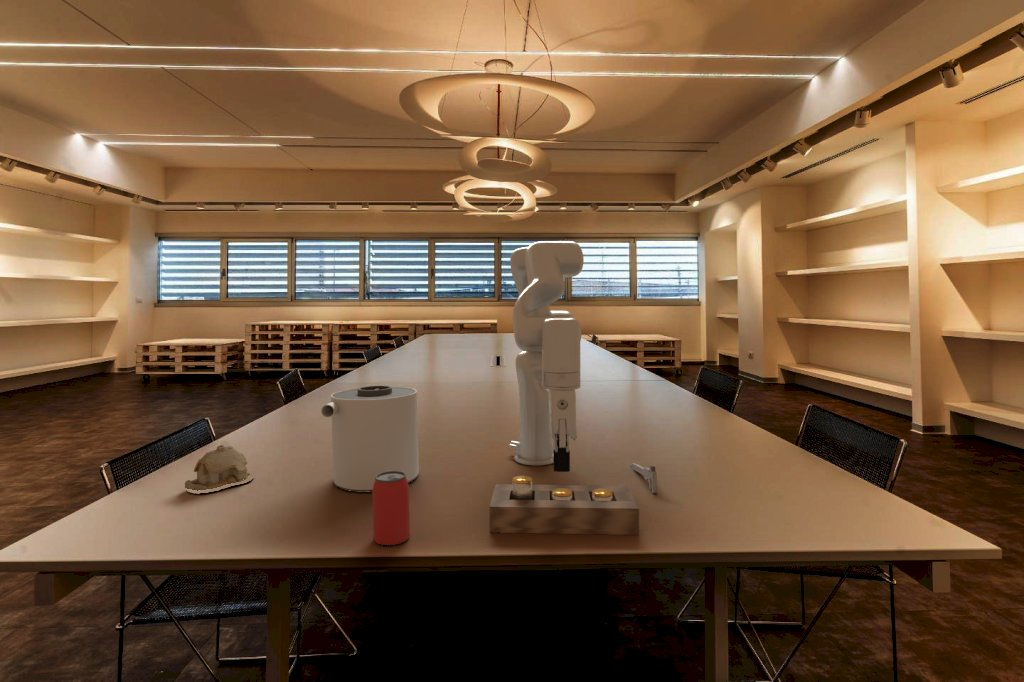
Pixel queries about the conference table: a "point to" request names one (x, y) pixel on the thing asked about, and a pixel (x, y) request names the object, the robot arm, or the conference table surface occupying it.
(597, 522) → the knob console
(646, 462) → the conference table surface
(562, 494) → the middle knob
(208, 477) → the ceramic model
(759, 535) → the conference table surface
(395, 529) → the beer can
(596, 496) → the right knob
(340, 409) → the humidifier
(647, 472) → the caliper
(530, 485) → the left knob
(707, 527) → the conference table surface
